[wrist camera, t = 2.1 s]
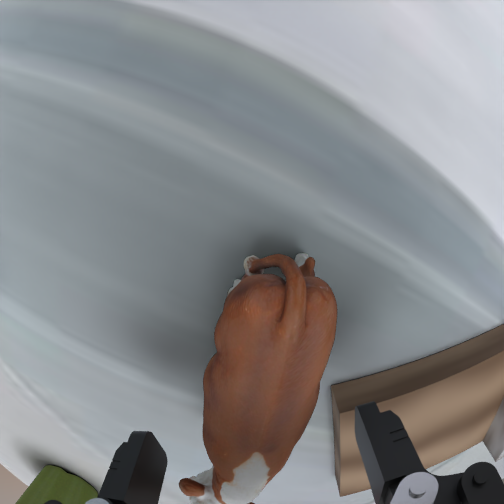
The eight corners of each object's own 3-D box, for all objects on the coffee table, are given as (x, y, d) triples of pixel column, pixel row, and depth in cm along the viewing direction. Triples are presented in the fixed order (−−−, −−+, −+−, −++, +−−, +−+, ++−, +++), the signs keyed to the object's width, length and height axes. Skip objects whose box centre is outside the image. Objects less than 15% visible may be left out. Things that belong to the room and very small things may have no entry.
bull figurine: (190, 416, 17) (169, 523, 9) (243, 210, 13) (232, 285, 6) (255, 429, 18) (257, 536, 10) (335, 237, 14) (422, 328, 6)
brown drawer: (330, 385, 16) (352, 455, 11) (515, 317, 15) (558, 353, 10) (335, 475, 20) (346, 524, 15) (482, 419, 19) (505, 455, 14)
